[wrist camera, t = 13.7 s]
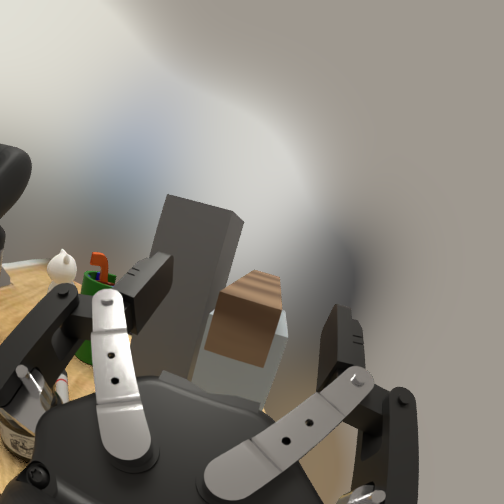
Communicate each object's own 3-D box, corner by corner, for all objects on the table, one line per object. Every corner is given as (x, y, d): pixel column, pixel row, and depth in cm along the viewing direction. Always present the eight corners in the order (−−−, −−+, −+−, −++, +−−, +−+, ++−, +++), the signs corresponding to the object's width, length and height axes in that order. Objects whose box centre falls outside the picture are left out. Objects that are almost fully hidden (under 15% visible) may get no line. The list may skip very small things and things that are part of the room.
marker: (71, 432, 26) (70, 421, 26) (57, 430, 25) (56, 419, 25) (67, 372, 39) (67, 362, 39) (56, 370, 37) (56, 360, 37)
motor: (123, 367, 48) (143, 267, 48) (80, 367, 42) (96, 258, 41) (105, 342, 55) (122, 253, 55) (67, 341, 48) (82, 245, 48)
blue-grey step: (225, 497, 24) (288, 337, 24) (167, 479, 25) (209, 313, 24) (238, 444, 36) (285, 311, 36) (193, 430, 37) (231, 294, 36)
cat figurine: (40, 300, 61) (48, 244, 60) (80, 304, 70) (89, 252, 70) (45, 313, 55) (52, 253, 54) (89, 317, 64) (99, 260, 64)
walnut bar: (263, 368, 16) (282, 310, 16) (203, 349, 16) (219, 291, 16) (272, 302, 40) (279, 277, 40) (246, 294, 40) (254, 269, 40)
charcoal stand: (175, 428, 36) (232, 211, 35) (121, 404, 37) (167, 194, 36) (195, 394, 48) (244, 222, 47) (151, 377, 49) (193, 208, 48)
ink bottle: (-11, 447, 15) (-30, 360, 14) (10, 407, 23) (4, 328, 23) (65, 476, 18) (57, 396, 18) (74, 430, 26) (76, 353, 26)
